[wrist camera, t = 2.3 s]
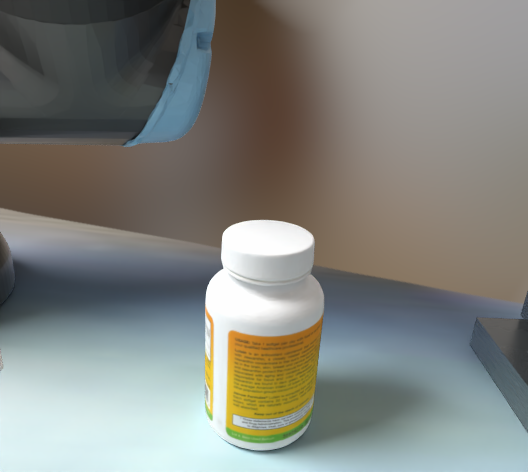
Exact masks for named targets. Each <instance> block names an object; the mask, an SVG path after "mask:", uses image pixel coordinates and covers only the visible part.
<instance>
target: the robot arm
mask: <svg viewBox="0 0 528 472" xmlns="http://www.w3.org/2000/svg"><path fill="white" fill-rule="evenodd" d="M215 5H216V0H0V143H5V144H6V143H9V144H67V145H69V144H70V145H121V146H125V147H130V146H134V145H136V144H138V143H154V142H169V141H173V140H177V139H179V138H181V137H182V136H184V135H185V134H186V133H187V132H188V131H189V130H190V129H191V128H192V126H193V124H194V123H195V121H196V119H197V117H198V114H199V112H200V108H201V106H202V102H203V99H204V95H205V90H206V86H207V81H208V76H209V70H210V63H211V54H212V52H211V45H210V42H211V39H212V35H213V31H214V23H215V7H216V6H215ZM14 284H15V273H14V267H13V261H12V255H11V251H10V248H9V246H8V244H7V242H6V240H5V239H4V237H3V235H2V234H1V232H0V305H1V304H2V303H3V302H4V301H5V300H6V299H7V297H8V296H9V295H10V293H11V292H12V290H13V287H14ZM2 369H3V362H2V357H1V351H0V371H1V370H2Z"/></svg>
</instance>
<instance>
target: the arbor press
mask: <svg viewBox="0 0 528 472" xmlns="http://www.w3.org/2000/svg"><path fill="white" fill-rule="evenodd" d="M521 316H522V317H523V318H524V319H502V318H478V317H477V318H476V322H475V326H474V330H473V334H472V338H471V342H470V345H471V347H472V348H473V350H474V351H475V353H476V354H477V356H478V357H479V359H480V361H481V362H482V364H483V365H484V367H485V368H486V370H487V371H488V373H489V374H490V376H491V377H492V379H493V380H494V382H495V383H496V385H497V386H498V388H499V389H500V391H501V392H502V394H503V395H504V397H505V399H506V400H507V402H508V403H509V405H510V406H511V408H512V409H513V411H514V412H515V414H516V415H517V417H518V418H519V420H520V421H521V423H522V424H523V426H524V427H525V429H526V430H527V432H528V292H527V295H526V299H525V302H524V305H523V309H522V312H521Z"/></svg>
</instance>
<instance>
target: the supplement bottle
mask: <svg viewBox="0 0 528 472" xmlns="http://www.w3.org/2000/svg"><path fill="white" fill-rule="evenodd" d="M314 245H315V241H314V238H313V236H312V234H311V233H310V232H308V231H307V230H305V229H304V228H302V227H300V226H297V225H293V224H290V223H286V222H280V221H272V220H253V221H245V222H241V223H237V224H234V225H232V226H230V227H229V228H227V229H226V230H225V231H224V233H223V238H222V253H221V260H222V264H223V269H222V270H221V271H219V272H218V273H217V274H216V275H215V276H214V277H213V278H212V279H211V281H210V283H209V285H208V287H207V291H206V301H205V410H206V416H207V420H208V422H209V424H210V426H211V428H212V429H213V430H214V431H215V433H216V434H217V435H219V436H220V437H221V438H222V439H224V440H225V441H227V442H229V443H231V444H233V445H236V446H238V447H241V448H246V449H250V450H272V449H278V448H281V447H284V446H286V445H288V444H290V443H292V442H294V441H295V440H297V439H298V438H299V437H300V436H301V435H302V434H303V433H304V432H305V431H306V429H307V427H308V426H309V423H310V421H311V417H312V411H313V404H314V395H315V385H316V375H317V366H318V357H319V348H320V339H321V330H322V322H323V314H324V294H323V290H322V288H321V286H320V284H319V283H318V281H317V280H316V279H315V278H314V277H313V276H312V275H311V274H310V272H311V270H312V266H313V260H314Z"/></svg>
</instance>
